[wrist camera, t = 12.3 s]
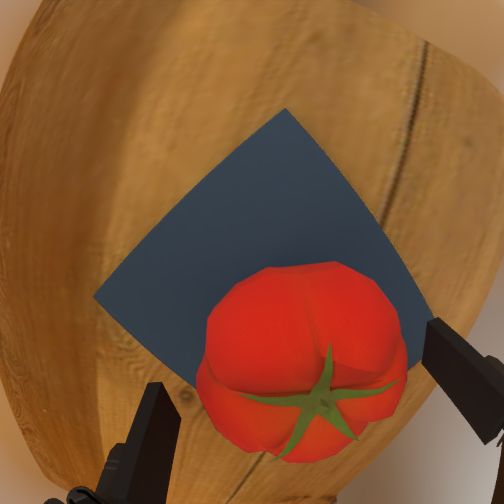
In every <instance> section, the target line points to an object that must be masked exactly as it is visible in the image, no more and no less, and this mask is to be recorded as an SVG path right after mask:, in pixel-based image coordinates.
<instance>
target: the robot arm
mask: <svg viewBox="0 0 504 504" xmlns="http://www.w3.org/2000/svg"><path fill="white" fill-rule="evenodd" d="M421 363H422V365H423V366H424V367H425V368H426V369H427V371H428V372H429V373H430V374H431V376H432V377H433V378H434V379H435V380H436V382H437V383H438V384H439V385H440V387H441V388H442V389H443V390H444V392H445V393H446V394H447V395H448V397H449V398H450V399H451V401H452V402H453V403H454V405H455V406H456V407H457V408H458V409H459V411H460V412H461V414H462V415H463V416H464V417H465V419H466V420H467V422H468V423H469V424H470V425H471V427H472V428H473V430H474V431H475V432H476V434H477V435H478V437H479V438H480V439H481V441H482V442H483V443H484V445H486V444H487V443H489V442H490V441H491V440H493V439H494V438H496V437H497V436H498V434H499V432H500V431H501V429H503V430H504V364H503V363H502V362H500V361H499V360H498V359H497V358H494V357H492V356H490V355H488V356H486V357H485V358H484V357H483V356H482V355H481V354H480V353H478V351H476V350H475V349H474V348H473V347H472V346H471V345H470V344H469V343H468V342H467V341H465V340H464V339H463V338H462V337H461V336H460V335H459V334H458V333H456V332H455V331H454V330H453V329H452V328H451V327H450V326H448V325H447V324H446V323H445V322H444V321H443V320H441V319H440V318H439V317H437V318H435V319H432V320H430V321H427V326H426V334H425V342H424V349H423V356H422V362H421ZM180 423H181V417H180V415H179V413H178V411H177V410H176V408H175V406H174V404H173V402H172V401H171V399H170V397H169V395H168V393H167V391H166V389H165V387H164V385H163V383H162V382H153V383H148V384H147V386H146V389H145V391H144V394H143V397H142V399H141V402H140V404H139V407H138V410H137V412H136V415H135V418H134V421H133V423H132V426H131V429H130V432H129V434H128V437H127V440H126V443H125V444H124V443H117V444H116V445H115V446H114V447H113V448H112V449H111V450H110V452H109V455H108V458H107V462H106V463H105V466H104V469H103V471H102V474H101V477H100V480H99V483H98V485H97V488H96V491H95V493H94V492H93V491H92V490H90V489H89V488H87V487H83V486H79V487H75V488H74V489H72V490H71V491H70V492H69V493H68V496H67V499H66V500H67V504H166V498H167V492H168V487H169V481H170V475H171V470H172V464H173V459H174V454H175V449H176V443H177V438H178V433H179V428H180ZM501 442H502V446H501V447H502V449H501V457H500V463H499V469H498V475H497V480H496V485H495V489H494V494H493V498H492V502H491V504H504V434H503V436H502V437H501V439H500V440H499V442H498V443H497V447H498V446H499V445H500V444H501ZM44 504H64V503H63V502H61V501H60V500H58V499H56V498H51V499H48V500H47V501H45V502H44Z"/></svg>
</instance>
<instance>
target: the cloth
mask: <svg viewBox="0 0 504 504" xmlns="http://www.w3.org/2000/svg"><path fill="white" fill-rule="evenodd" d="M332 261H336V262H339V263H341V264H343V265H345V266H347V267H349V268H351V269H353V270H355V271H356V272H358V273H360V274H362V275H364V276H366V277H368V278H370V279H372V280H374V281H375V283H376V284H377V285H378V287H379V288H380V289H381V291H382V292H383V293H384V294H385V296H386V297H387V298H388V300H389V301H390V303H391V304H392V305H393V307H394V308H395V309H396V311H397V314H398V318H399V322H400V327H401V332H400V333H401V335H402V338H403V340H404V342H405V344H406V349H407V371H408V370H409V369H410V368H412V367H413V366H414V365H415V364H416V363H417V362H419V361H420V360H421V359H422V356H423V349H424V342H425V334H426V326H427V321H430V320H432V319H435V318H434V316H433V314H432V312H431V311H430V309H429V307H428V305H427V303H426V301H425V299H424V298H423V296H422V294H421V292H420V290H419V289H418V287H417V285H416V283H415V282H414V280H413V278H412V276H411V275H410V273H409V271H408V270H407V268H406V266H405V265H404V263H403V261H402V260H401V258H400V256H399V255H398V253H397V252H396V250H395V249H394V247H393V245H392V244H391V242H390V241H389V239H388V238H387V236H386V235H385V233H384V232H383V230H382V229H381V227H380V226H379V224H378V223H377V221H376V220H375V218H374V217H373V215H372V214H371V213H370V211H369V210H368V208H367V207H366V206H365V204H364V203H363V201H362V200H361V199H360V197H359V196H358V195H357V193H356V192H355V191H354V189H353V188H352V187H351V185H350V184H349V183H348V181H347V180H346V179H345V177H344V176H343V175H342V174H341V172H340V171H339V170H338V168H337V167H336V166H335V165H334V163H333V162H332V161H331V160H330V159H329V157H328V156H327V155H326V154H325V152H324V151H323V150H322V149H321V148H320V146H319V145H318V144H317V143H316V142H315V141H314V139H313V138H312V137H311V136H310V135H309V134H308V133H307V131H306V130H305V129H304V128H303V127H302V126H301V125H300V124H299V122H298V121H297V120H296V119H295V118H294V117H293V116H292V115H291V114H290V113H289V112H288V110H287V109H286V108H284V109H283V110H282V111H281V112H279V113H278V114H277V115H276V116H274V117H273V118H272V119H271V120H269V121H268V122H267V123H266V124H265V125H263V126H262V127H261V128H260V129H259V130H257V131H256V132H255V133H254V134H253V135H251V136H250V137H249V138H248V139H247V140H246V141H244V142H243V143H242V144H241V145H240V146H239V147H238V148H236V149H235V150H234V151H233V152H232V153H231V154H230V155H228V156H227V157H226V158H225V159H224V160H223V161H222V162H221V163H220V164H218V165H217V166H216V167H215V168H214V169H213V170H212V171H211V172H210V173H209V174H208V175H207V176H205V177H204V178H203V179H202V180H201V181H200V182H199V183H198V184H197V185H196V186H195V187H194V188H193V189H192V190H191V191H190V192H189V193H188V194H187V195H186V196H185V197H184V198H183V199H182V200H181V201H180V202H179V203H178V204H177V205H176V206H175V207H174V208H173V209H172V210H171V211H170V212H169V213H168V214H167V215H166V216H165V217H164V218H163V219H162V220H161V221H160V222H159V223H158V224H157V225H156V226H155V227H154V228H153V229H152V230H151V231H150V232H149V233H148V234H147V235H146V237H145V238H144V239H143V240H142V241H141V242H140V243H139V244H138V245H137V246H136V247H135V248H134V250H133V251H132V252H131V253H130V254H129V255H128V256H127V257H126V258H125V260H124V261H123V262H122V263H121V264H120V265H119V266H118V268H117V269H116V270H115V271H114V272H113V273H112V274H111V276H110V277H109V278H108V279H107V280H106V281H105V283H104V284H103V285H102V286H101V287H100V289H99V290H98V291H97V292H96V293H95V295H94V296H93V297H94V299H95V300H96V301H97V302H98V303H99V304H100V305H101V306H102V307H103V308H104V309H105V310H106V311H107V312H108V313H109V314H110V315H111V316H112V317H113V318H114V319H115V320H116V321H117V322H118V323H119V324H120V325H121V326H122V327H123V328H124V329H125V330H127V331H128V332H129V333H130V334H131V335H132V336H133V337H134V338H135V339H136V340H137V341H138V342H140V343H141V344H142V345H143V346H144V347H145V348H146V349H147V350H149V351H150V352H151V353H152V354H153V355H154V356H155V357H157V358H158V359H159V360H160V361H161V362H163V363H164V364H165V365H166V366H167V367H169V368H170V369H171V370H172V371H173V372H175V373H176V374H177V375H178V376H180V377H181V378H182V379H184V380H185V381H186V382H187V383H189V384H190V385H191V386H193V387H194V388H195V389H197V385H196V374H197V372H198V369H199V367H200V365H201V362H202V360H203V357H204V354H205V350H206V335H207V321H208V317H209V316H210V314H211V312H212V310H213V309H214V307H215V306H216V305H217V304H218V303H219V302H220V301H221V300H222V299H223V298H224V297H225V295H226V294H227V293H228V292H229V291H230V290H231V289H232V288H233V287H234V286H235V285H236V284H237V283H239V282H241V281H243V280H245V279H246V278H248V277H250V276H252V275H254V274H256V273H258V272H259V271H261V270H263V269H265V268H267V267H288V266H298V265H307V264H315V263H324V262H332Z"/></svg>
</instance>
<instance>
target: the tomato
mask: <svg viewBox="0 0 504 504" xmlns="http://www.w3.org/2000/svg"><path fill="white" fill-rule="evenodd" d="M400 332H401V327H400V322H399V318H398V314H397V311H396V309H395V308H394V307H393V305H392V304H391V303H390V301H389V300H388V298H387V297H386V296H385V294H384V293H383V292H382V291H381V289H380V288H379V287H378V285H377V284H376V283H375V281H374V280H372V279H370V278H368V277H366V276H364V275H362V274H360V273H358V272H356V271H355V270H353V269H351V268H349V267H347V266H345V265H343V264H341V263H339V262H336V261H332V262H324V263H315V264H307V265H298V266H288V267H267V268H265V269H263V270H261V271H259V272H258V273H256V274H254V275H252V276H250V277H248V278H246V279H245V280H243V281H241V282H239V283H237V284H236V285H235V286H234V287H233V288H232V289H231V290H230V291H229V292H228V293H227V294H226V295H225V297H224V298H223V299H222V300H221V301H220V302H219V303H218V304H217V305H216V306H215V307H214V309H213V310H212V312H211V314H210V316H209V317H208V321H207V335H206V350H205V354H204V357H203V360H202V362H201V365H200V367H199V369H198V372H197V374H196V385H197V393H198V395H199V397H200V399H201V401H202V403H203V405H204V407H205V409H206V411H207V413H208V415H209V417H210V419H211V421H212V423H213V425H214V426H215V428H216V429H217V430H218V431H219V432H220V433H221V434H222V435H223V436H225V437H226V438H227V439H228V440H229V441H230V442H232V443H233V444H234V445H236V446H237V447H239V448H240V449H242V450H243V451H245V452H247V453H251V452H259V451H268V452H269V453H271V454H273V455H275V456H277V457H276V458H275V459H274V460H273V461H275V460H277V459H279V458H280V459H282V460H284V461H286V462H288V463H314V462H317V461H319V460H322V459H325V458H328V457H330V456H333V455H335V454H337V453H339V452H340V451H341V450H342V449H343V448H345V447H346V446H347V445H348V444H349V443H351V442H352V441H353V440H354V439H355V440H358V439H357V436H359V435H360V434H361V433H362V432H363V431H364V429H365V427H366V426H367V424H368V423H369V422H374V421H378V420H381V419H384V418H387V417H390V416H392V415H393V413H394V411H395V409H396V407H397V405H398V403H399V400H400V398H401V395H402V393H403V390H404V387H405V385H406V382H407V349H406V344H405V342H404V340H403V338H402V335H401V333H400ZM358 441H359V440H358ZM273 461H272V462H273Z"/></svg>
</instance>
